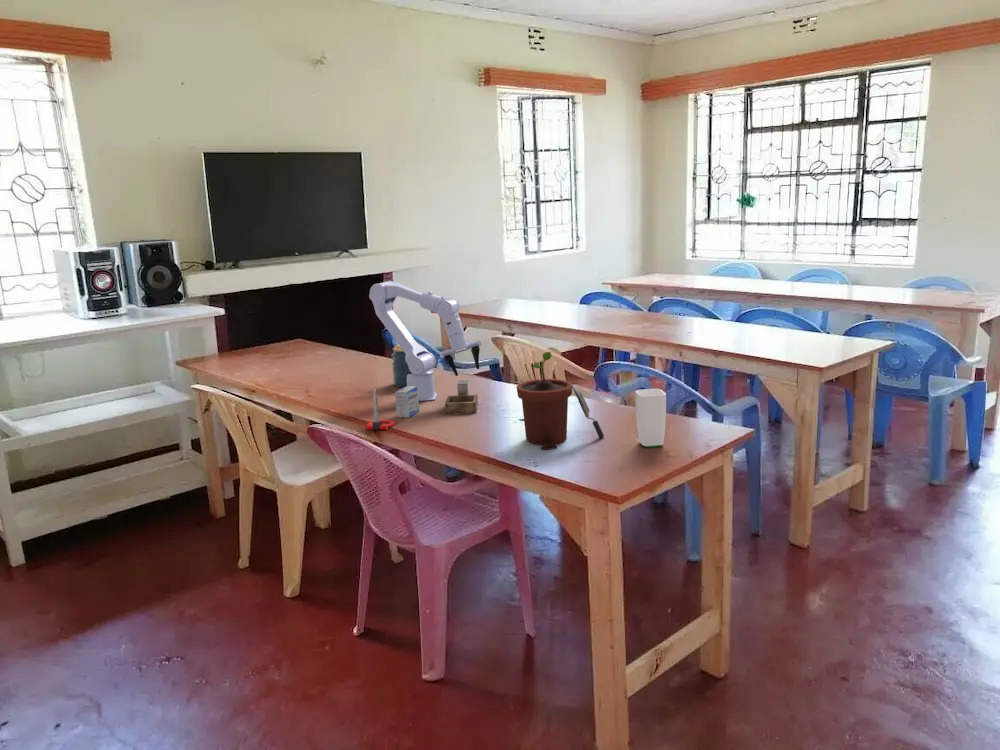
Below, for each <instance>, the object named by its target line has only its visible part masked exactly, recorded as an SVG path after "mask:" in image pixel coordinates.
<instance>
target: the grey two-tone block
mask: <svg viewBox="0 0 1000 750" xmlns="http://www.w3.org/2000/svg"><path fill="white" fill-rule="evenodd" d="M456 385H457V386H456V388H457V395H470V380H468V379H467V380H466V379H465V380H458V381H457V384H456Z"/></svg>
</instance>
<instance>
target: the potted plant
mask: <svg viewBox="0 0 1000 750" xmlns="http://www.w3.org/2000/svg"><path fill="white" fill-rule="evenodd" d="M552 356H553V355H552V351H545V352H544V353H543V354H542V359H543V360H542V362H541V365H540V363H539V362H538V361H535V362H534V364H533V365H532V366H531V368H535V369H541V371H542V372H541V373H542V374H541V375H542V378H541V379H540V378H538V379H531V380H526V381H524V382H523V381H522V382H520V383H518V384H517V385H516V393H517V397H518V399H521V404H522V414H523V421H524V422H523V423H524V431H525V440H526V442H527V443H528V442H529V443H528V444H530V445H534V446H541V447H540V450H544V451H549V450H554V449H557V448H558V446H557V445H559V444H562V443H565V441H567V438H568V437H567V435H568V412H569V411H568V407H569V398H570V397H571V396H572V394H573V392H574V394H575V396H576V398H577V400H578V403H579V405H580V407H581V409H582V413H584V416H585V418H586V419H588V420H592V425H593V427H594V430H595V432H596V434H597V436H598V438H599V439H603V438H604V437H605V435H604V433H603V431H602V430H603V429H602V428H601V426H600V424H599V422H598V420H596V419H595V418H594V417H590V408H589V405H588V402H587V400H586V398H585V397H584V395H583V393H582V391H580V389H579V388H578V387H577V386H576V385H574V384H572V382H571V381H568V380H563V379H556V378H545V371H544V363H545V362H546V361H548V360H550V359H551V358H552Z"/></svg>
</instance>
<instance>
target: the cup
mask: <svg viewBox="0 0 1000 750" xmlns="http://www.w3.org/2000/svg"><path fill="white" fill-rule="evenodd" d="M635 415H636V417H635V418H636V419H635V420H636V428H637V429H636V430H637V436H638V442H639V443H640V444H641V445H642V447H644V448H645V447H646V448H652V447H654V448H655V447H661V446H662V445H663V444H664V441H665V431H666V423H667V422H666V420H667V418H666V417H667V393H666V392H665V391H664V390H662V389H660V388H646V389H645V388H644V389H637V390H635Z"/></svg>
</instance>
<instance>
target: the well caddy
mask: <svg viewBox="0 0 1000 750" xmlns="http://www.w3.org/2000/svg"><path fill="white" fill-rule="evenodd" d="M478 399H479V397H478V394H469V395H458V394H456V395H447V397H446V399H445V402H444V408H445V415H453V413H460V414H467V413H466V412H476V411H477V410H478V407H477V406H479V400H478ZM476 413H477V412H476Z"/></svg>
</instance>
